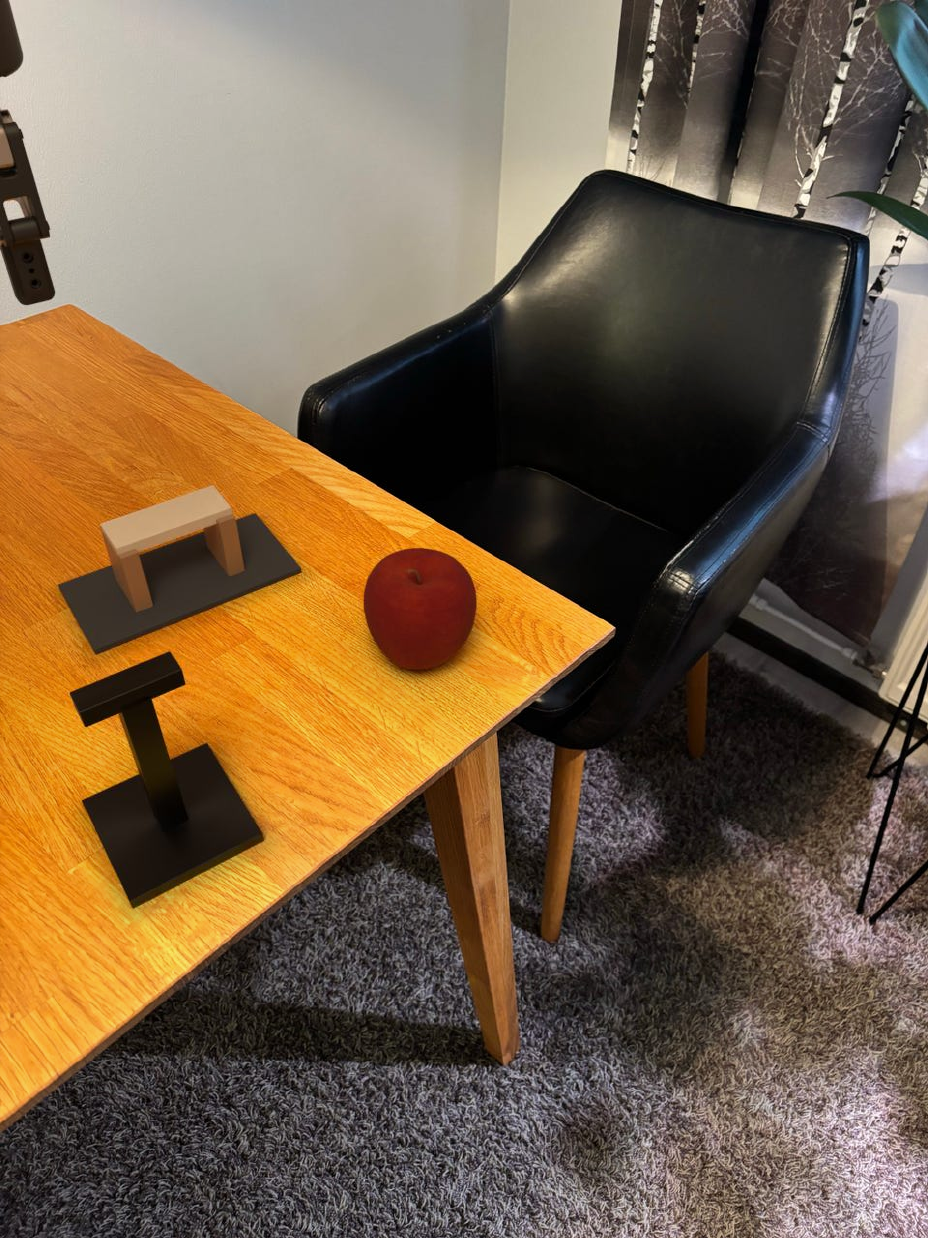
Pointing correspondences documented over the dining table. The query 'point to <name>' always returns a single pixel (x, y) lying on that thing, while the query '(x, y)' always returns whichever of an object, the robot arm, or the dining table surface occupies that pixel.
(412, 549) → the apple
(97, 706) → the stand
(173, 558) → the mat
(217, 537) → the beige wooden bench
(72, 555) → the dining table surface
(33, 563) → the dining table surface
